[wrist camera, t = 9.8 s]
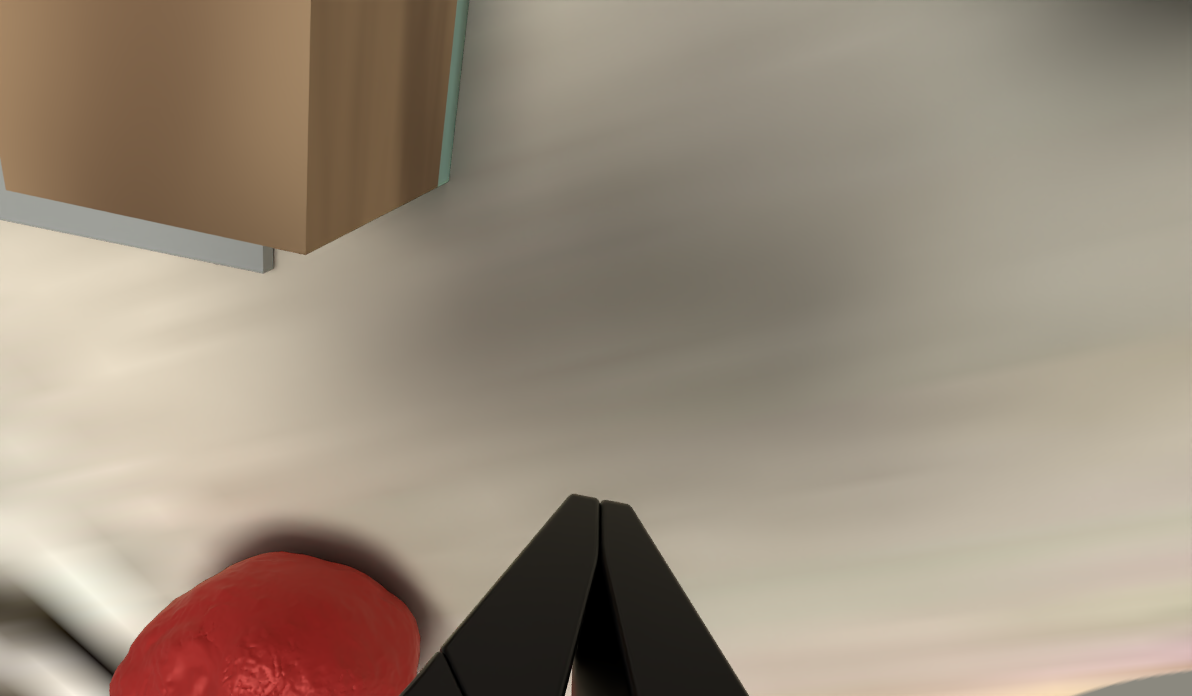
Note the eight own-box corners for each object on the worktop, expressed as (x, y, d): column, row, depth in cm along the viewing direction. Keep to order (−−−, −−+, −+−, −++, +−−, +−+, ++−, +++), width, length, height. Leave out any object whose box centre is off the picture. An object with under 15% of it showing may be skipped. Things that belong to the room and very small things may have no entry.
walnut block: (474, -45, 16) (314, -185, 8) (449, 181, 19) (305, 255, 10) (287, -89, 16) (-76, -280, 8) (285, 144, 18) (5, 190, 10)
